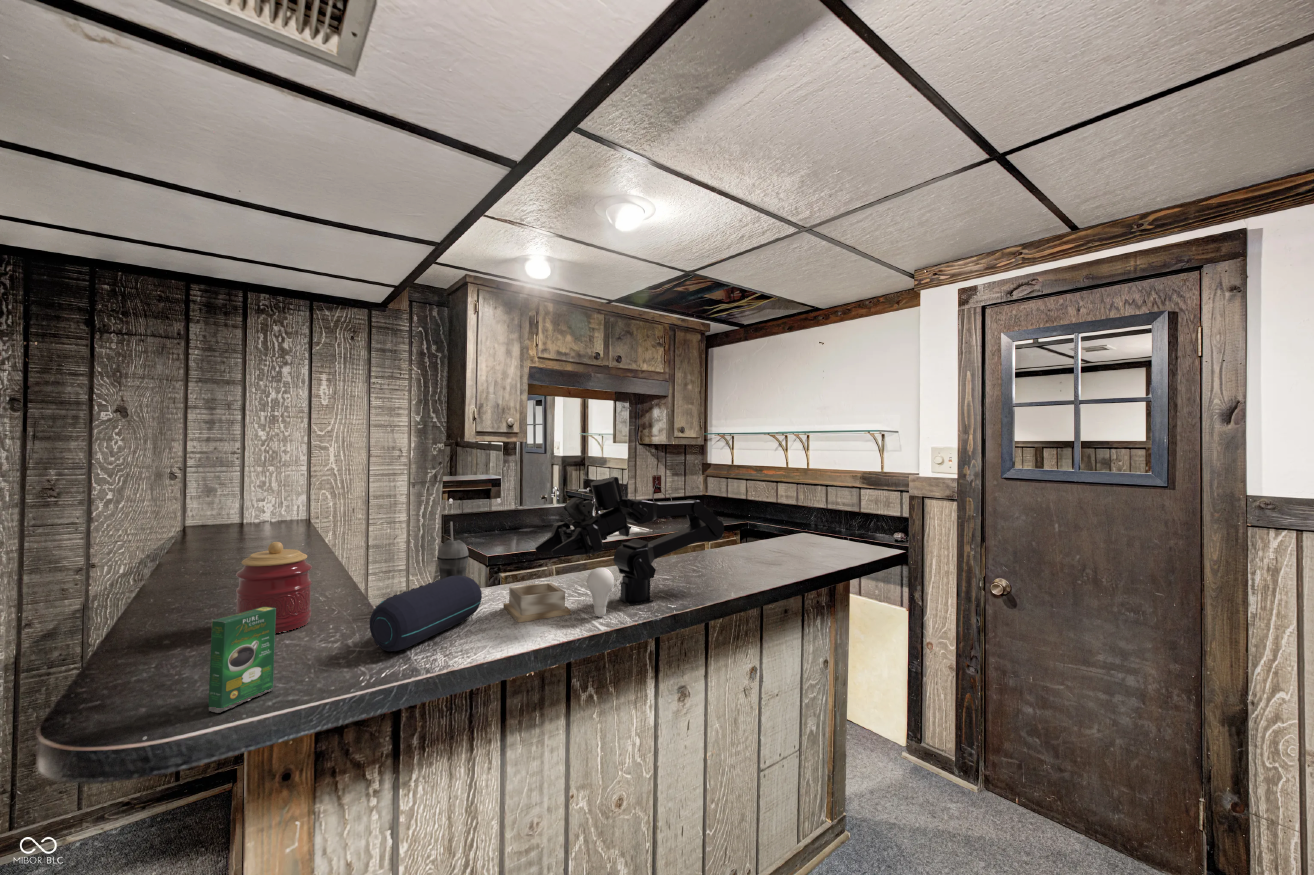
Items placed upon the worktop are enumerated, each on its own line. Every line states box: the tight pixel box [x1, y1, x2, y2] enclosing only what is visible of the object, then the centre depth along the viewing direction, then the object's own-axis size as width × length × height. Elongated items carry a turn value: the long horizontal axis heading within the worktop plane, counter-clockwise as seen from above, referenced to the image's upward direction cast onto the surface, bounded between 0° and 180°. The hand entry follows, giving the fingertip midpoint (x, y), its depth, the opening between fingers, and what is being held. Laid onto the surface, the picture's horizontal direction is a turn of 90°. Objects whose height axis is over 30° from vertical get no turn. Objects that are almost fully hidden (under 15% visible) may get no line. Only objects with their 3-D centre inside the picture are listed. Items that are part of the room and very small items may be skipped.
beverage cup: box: [436, 521, 470, 580], centre depth 130 cm, size 7×7×20 cm
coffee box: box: [208, 607, 276, 708], centre depth 81 cm, size 8×3×13 cm, turn 163°
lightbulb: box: [586, 567, 615, 618], centre depth 122 cm, size 6×6×11 cm
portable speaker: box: [369, 575, 483, 652], centre depth 110 cm, size 25×10×10 cm, turn 162°
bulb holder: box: [503, 581, 572, 623], centre depth 126 cm, size 12×12×5 cm
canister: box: [235, 541, 313, 633], centre depth 114 cm, size 13×13×18 cm
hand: (543, 551), depth 120 cm, fingers open, 9 cm apart
